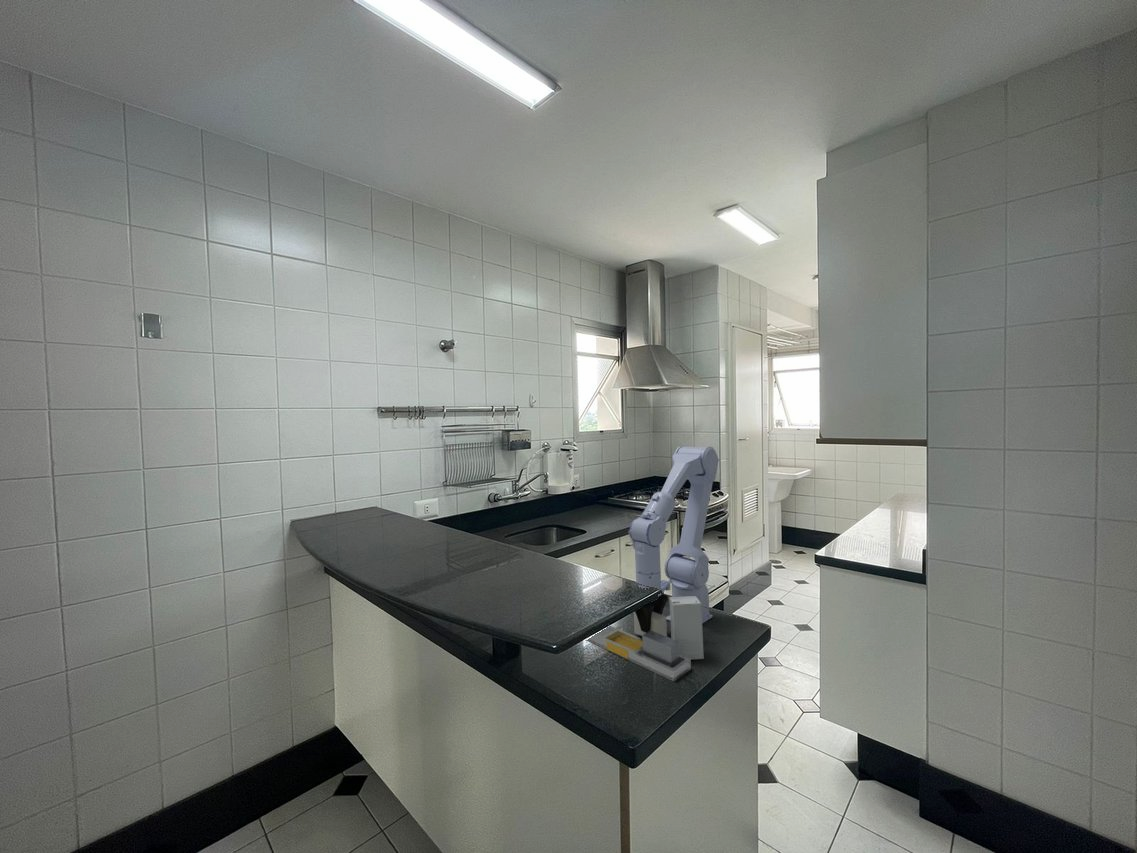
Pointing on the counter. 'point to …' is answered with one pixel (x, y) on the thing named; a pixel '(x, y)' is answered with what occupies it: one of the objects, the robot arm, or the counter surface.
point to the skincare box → (687, 625)
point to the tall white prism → (652, 624)
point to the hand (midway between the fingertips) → (650, 628)
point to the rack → (645, 651)
